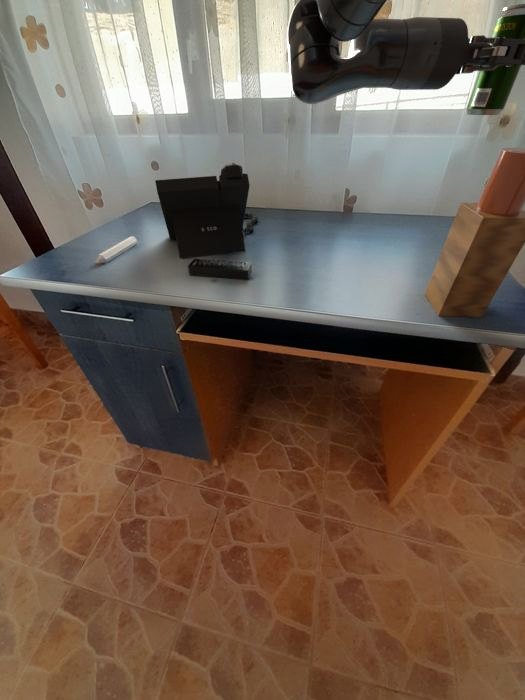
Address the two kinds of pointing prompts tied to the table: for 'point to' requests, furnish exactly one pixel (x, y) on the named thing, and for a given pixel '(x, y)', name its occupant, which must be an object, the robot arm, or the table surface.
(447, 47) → the robot arm
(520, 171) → the cup
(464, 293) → the stand
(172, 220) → the office phone
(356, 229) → the table surface
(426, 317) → the table surface
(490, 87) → the beer can
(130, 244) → the white pencil
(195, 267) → the multiport hub
